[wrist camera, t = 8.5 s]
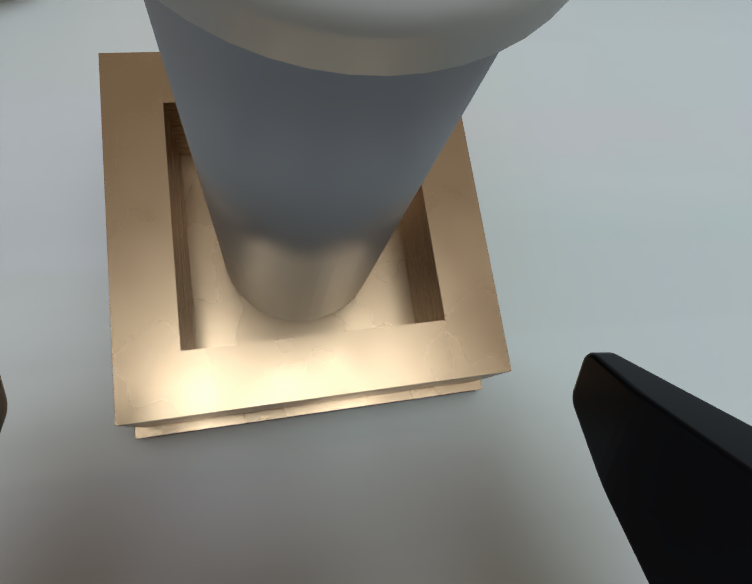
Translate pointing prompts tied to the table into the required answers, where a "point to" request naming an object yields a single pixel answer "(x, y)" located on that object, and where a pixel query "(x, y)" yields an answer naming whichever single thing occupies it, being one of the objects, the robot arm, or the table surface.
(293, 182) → the tube
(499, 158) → the table surface
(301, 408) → the socket flange
